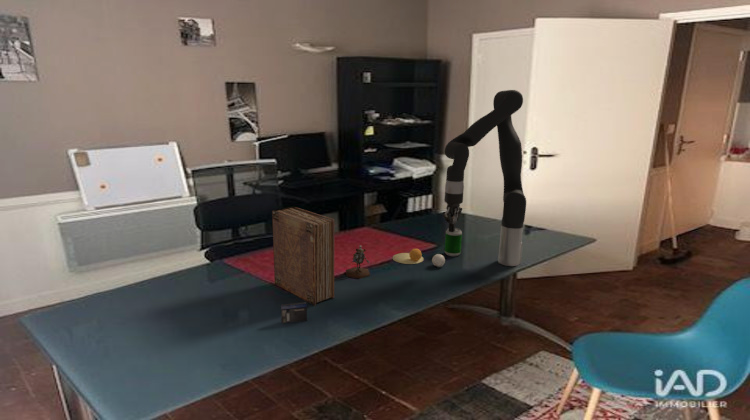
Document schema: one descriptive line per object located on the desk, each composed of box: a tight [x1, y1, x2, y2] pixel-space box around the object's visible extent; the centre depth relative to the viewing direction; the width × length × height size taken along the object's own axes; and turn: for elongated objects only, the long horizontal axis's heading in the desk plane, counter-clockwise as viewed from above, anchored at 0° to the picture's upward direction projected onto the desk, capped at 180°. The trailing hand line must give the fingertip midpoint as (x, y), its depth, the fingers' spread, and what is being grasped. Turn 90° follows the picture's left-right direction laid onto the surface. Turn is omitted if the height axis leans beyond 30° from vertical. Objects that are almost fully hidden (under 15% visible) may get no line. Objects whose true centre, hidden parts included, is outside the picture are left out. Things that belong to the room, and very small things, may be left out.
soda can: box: [444, 227, 463, 257], centre depth 226 cm, size 8×8×12 cm
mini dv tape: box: [280, 301, 308, 324], centre depth 160 cm, size 8×2×6 cm, turn 106°
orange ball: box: [408, 248, 423, 261], centre depth 218 cm, size 6×6×6 cm
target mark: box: [392, 252, 424, 265], centre depth 221 cm, size 14×14×1 cm
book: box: [271, 206, 335, 307], centre depth 180 cm, size 25×9×30 cm, turn 44°
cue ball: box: [431, 253, 446, 268], centre depth 211 cm, size 6×6×6 cm
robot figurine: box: [345, 245, 371, 280], centre depth 200 cm, size 11×9×12 cm
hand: (451, 231), depth 204 cm, fingers closed
